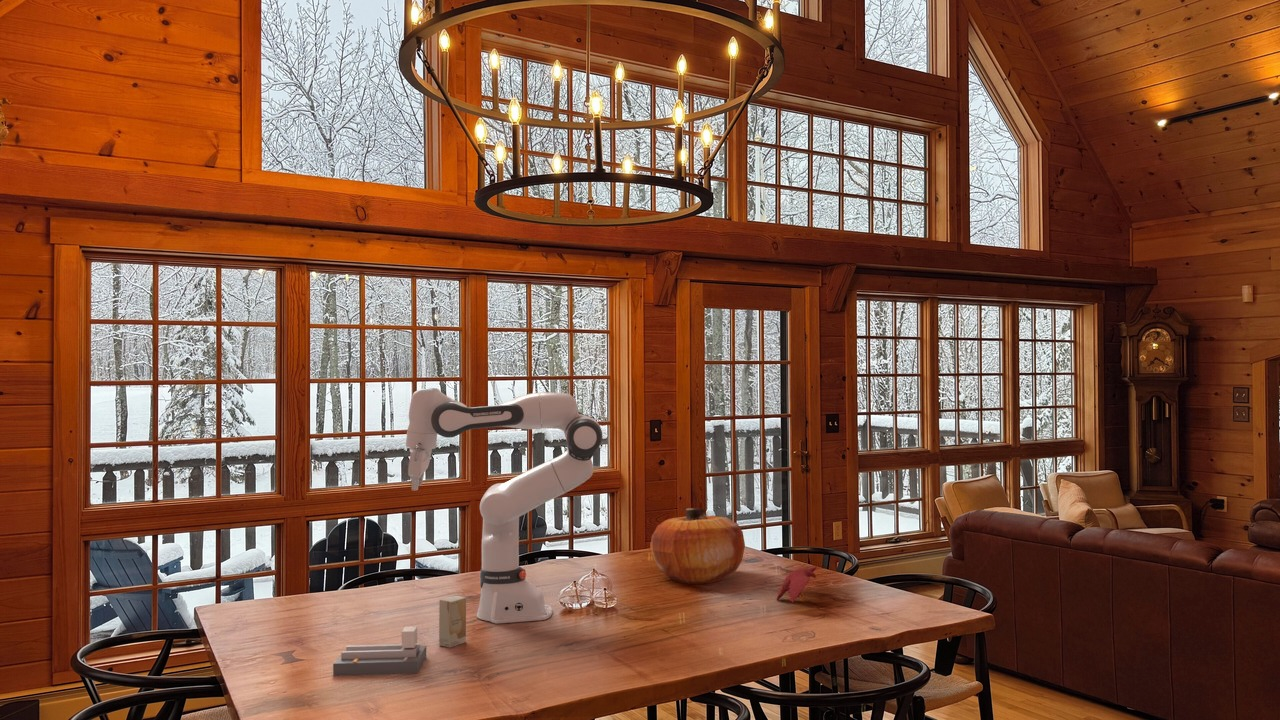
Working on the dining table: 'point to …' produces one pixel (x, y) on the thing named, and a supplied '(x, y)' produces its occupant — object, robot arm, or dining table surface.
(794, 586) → the decorative bird sculpture
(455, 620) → the skincare box
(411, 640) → the fader knob
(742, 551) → the pumpkin
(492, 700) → the dining table surface
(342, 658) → the fader console
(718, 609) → the dining table surface
